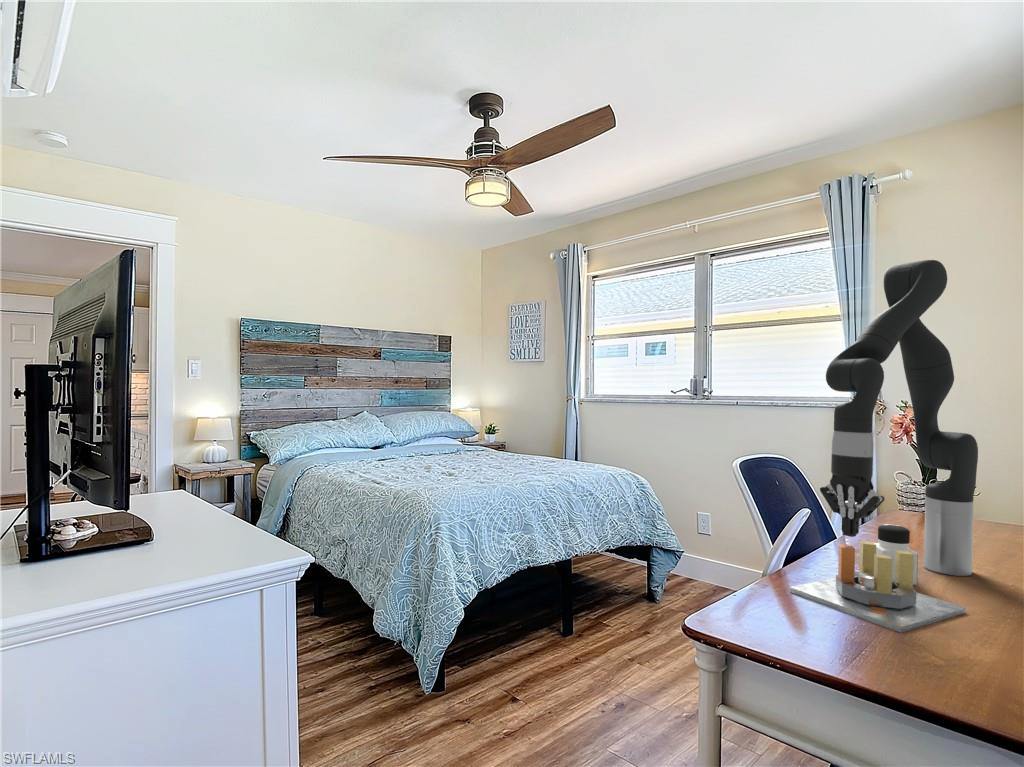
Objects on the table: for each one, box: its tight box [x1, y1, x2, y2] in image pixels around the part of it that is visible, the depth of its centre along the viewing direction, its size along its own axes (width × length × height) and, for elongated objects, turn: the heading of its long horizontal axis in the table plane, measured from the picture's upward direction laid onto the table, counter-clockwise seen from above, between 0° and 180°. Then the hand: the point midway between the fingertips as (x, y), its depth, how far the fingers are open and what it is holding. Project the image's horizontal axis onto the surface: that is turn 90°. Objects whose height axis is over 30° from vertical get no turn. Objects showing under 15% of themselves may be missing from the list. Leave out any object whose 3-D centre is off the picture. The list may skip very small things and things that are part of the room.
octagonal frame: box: [835, 540, 917, 609], centre depth 116 cm, size 13×13×9 cm
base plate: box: [789, 572, 967, 634], centre depth 116 cm, size 22×22×5 cm
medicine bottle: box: [873, 524, 919, 586], centre depth 131 cm, size 7×7×12 cm
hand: (849, 535), depth 121 cm, fingers closed
